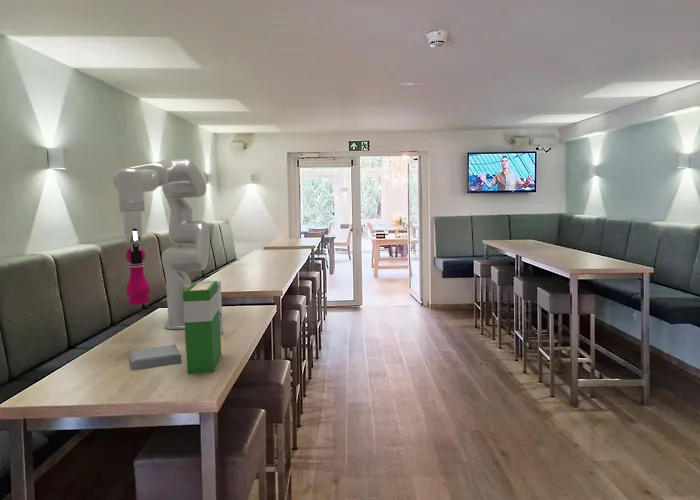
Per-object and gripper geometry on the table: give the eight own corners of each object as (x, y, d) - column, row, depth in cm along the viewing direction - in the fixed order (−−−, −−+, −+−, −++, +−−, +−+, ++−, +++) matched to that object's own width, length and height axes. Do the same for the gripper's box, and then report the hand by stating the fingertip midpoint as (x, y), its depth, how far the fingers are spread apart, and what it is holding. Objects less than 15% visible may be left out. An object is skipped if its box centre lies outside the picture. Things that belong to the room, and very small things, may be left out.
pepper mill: (131, 301, 184) (126, 242, 181) (153, 300, 184) (149, 241, 182) (124, 305, 176) (119, 244, 174) (147, 304, 177) (142, 243, 175)
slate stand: (130, 358, 174) (129, 349, 174) (175, 351, 180) (175, 343, 180) (132, 370, 162) (132, 361, 161) (181, 362, 167) (181, 354, 167)
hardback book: (197, 356, 174) (193, 282, 172) (221, 354, 175) (217, 280, 173) (187, 373, 157) (182, 291, 154) (214, 372, 157) (209, 290, 155)
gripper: (118, 207, 183) (122, 260, 185) (120, 208, 168) (125, 266, 169) (142, 206, 186) (146, 259, 188) (146, 207, 171) (150, 264, 173)
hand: (136, 262), depth 179 cm, fingers closed on pepper mill, 6 cm apart
